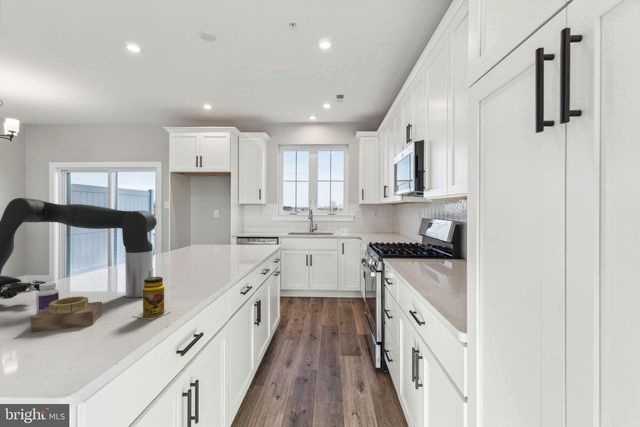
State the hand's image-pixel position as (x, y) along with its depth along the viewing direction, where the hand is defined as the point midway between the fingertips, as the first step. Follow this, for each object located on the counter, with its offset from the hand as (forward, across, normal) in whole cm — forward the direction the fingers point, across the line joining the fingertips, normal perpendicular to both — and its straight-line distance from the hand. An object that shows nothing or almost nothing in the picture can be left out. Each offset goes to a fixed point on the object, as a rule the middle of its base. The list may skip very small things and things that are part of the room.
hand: (28, 291), depth 101 cm
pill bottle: (+11, 0, +6) cm, 12 cm away
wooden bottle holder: (+26, -2, +6) cm, 26 cm away
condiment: (+43, +12, +6) cm, 45 cm away
